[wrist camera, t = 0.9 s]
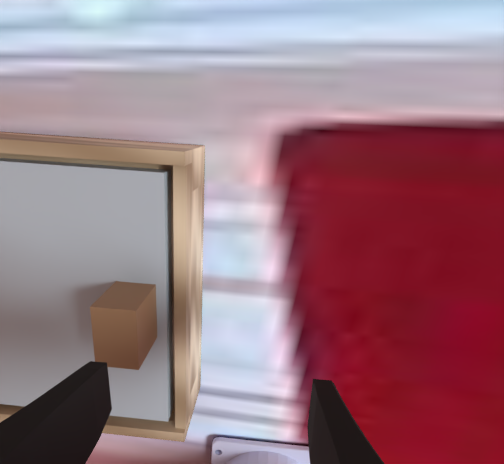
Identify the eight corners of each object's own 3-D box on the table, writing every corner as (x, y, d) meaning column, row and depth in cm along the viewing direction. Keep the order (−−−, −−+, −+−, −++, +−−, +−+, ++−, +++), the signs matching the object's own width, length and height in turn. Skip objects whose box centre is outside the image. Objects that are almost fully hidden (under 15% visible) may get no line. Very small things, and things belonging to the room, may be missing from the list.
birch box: (200, 386, 24) (184, 441, 19) (2, 366, 24) (-53, 416, 20) (204, 145, 19) (184, 151, 15) (-43, 128, 19) (-128, 130, 15)
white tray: (173, 407, 20) (153, 463, 17) (-37, 385, 21) (-96, 435, 18) (170, 169, 16) (143, 181, 13) (-93, 151, 17) (-185, 158, 13)
